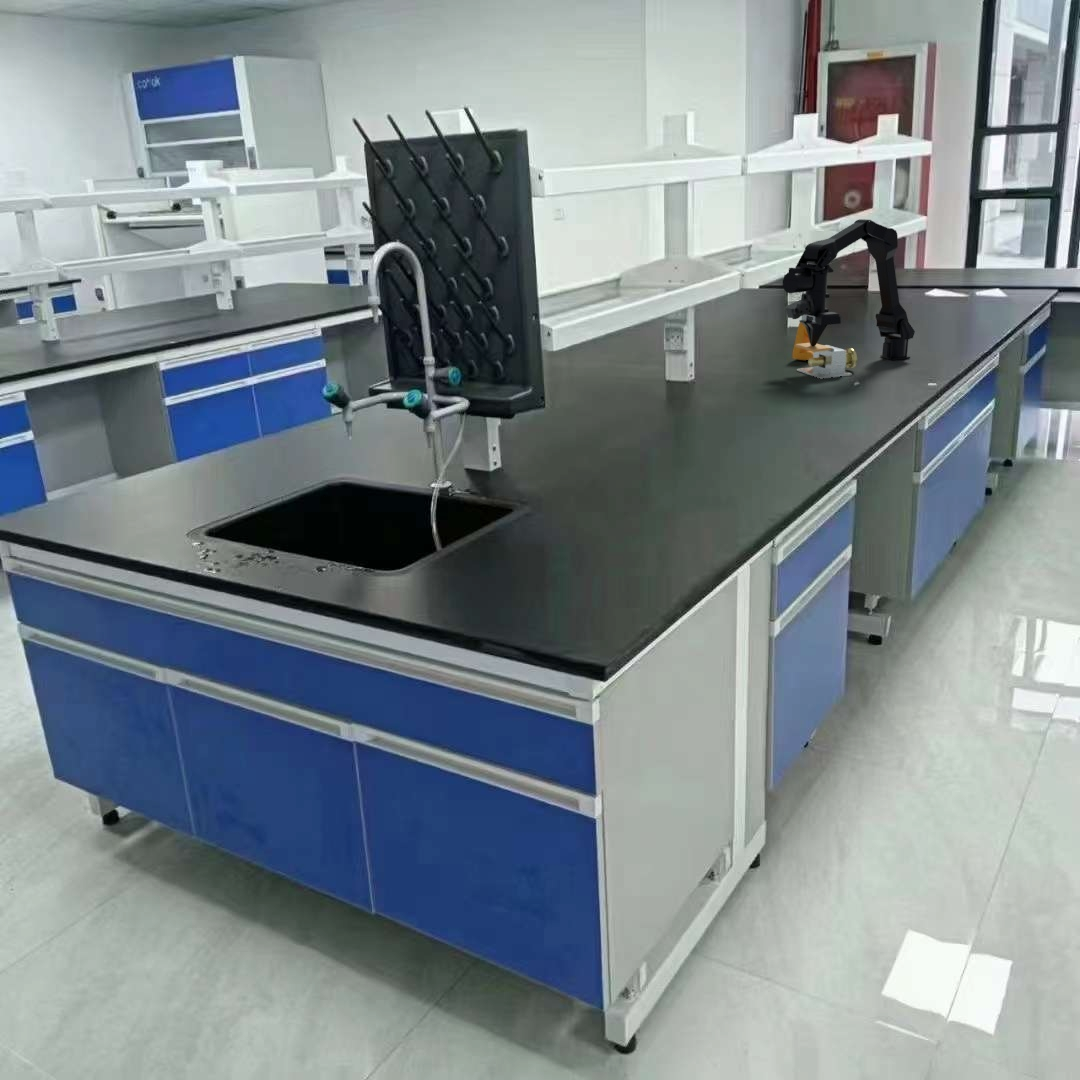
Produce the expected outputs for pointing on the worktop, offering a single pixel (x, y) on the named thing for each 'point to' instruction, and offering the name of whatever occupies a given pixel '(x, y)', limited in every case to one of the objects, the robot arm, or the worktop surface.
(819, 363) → the pin
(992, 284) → the worktop surface
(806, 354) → the bracket
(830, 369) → the hitch block
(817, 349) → the tan flat plate
